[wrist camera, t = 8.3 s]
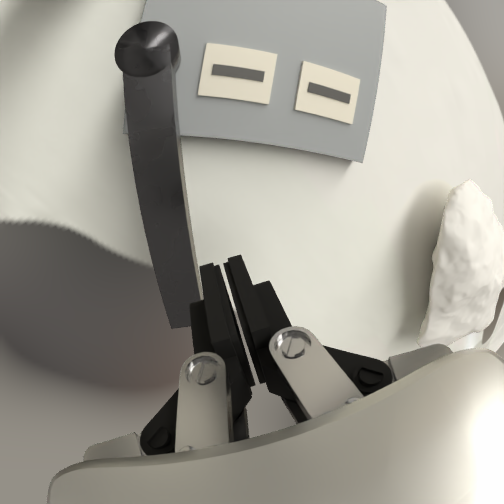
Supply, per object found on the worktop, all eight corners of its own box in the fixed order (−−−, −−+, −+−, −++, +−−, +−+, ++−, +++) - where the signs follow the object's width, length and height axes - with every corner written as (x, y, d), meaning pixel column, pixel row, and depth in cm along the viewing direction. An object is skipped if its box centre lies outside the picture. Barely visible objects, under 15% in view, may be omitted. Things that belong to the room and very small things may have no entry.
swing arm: (130, 44, 12) (114, 28, 9) (180, 36, 13) (177, 16, 9) (167, 294, 21) (165, 329, 18) (206, 288, 22) (211, 323, 18)
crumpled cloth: (430, 356, 43) (459, 382, 35) (346, 281, 27) (406, 330, 19) (491, 262, 41) (522, 280, 33) (448, 125, 25) (509, 135, 17)
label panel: (127, 132, 18) (116, 136, 15) (164, -42, 11) (162, -60, 8) (353, 159, 23) (374, 168, 20) (377, 8, 16) (398, 2, 13)
